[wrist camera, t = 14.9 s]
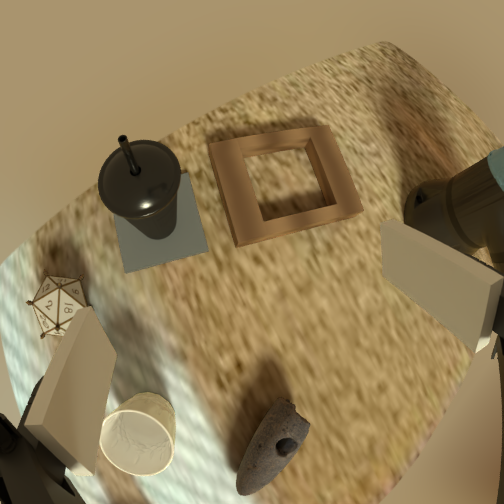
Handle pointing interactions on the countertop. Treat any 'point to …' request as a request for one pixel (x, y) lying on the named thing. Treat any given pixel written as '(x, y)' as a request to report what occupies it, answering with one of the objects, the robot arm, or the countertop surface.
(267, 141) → the holder frame
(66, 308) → the game die
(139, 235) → the slate mat
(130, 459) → the white cup
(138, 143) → the drinking cup
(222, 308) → the countertop surface
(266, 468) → the perforated stone tool
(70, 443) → the robot arm
